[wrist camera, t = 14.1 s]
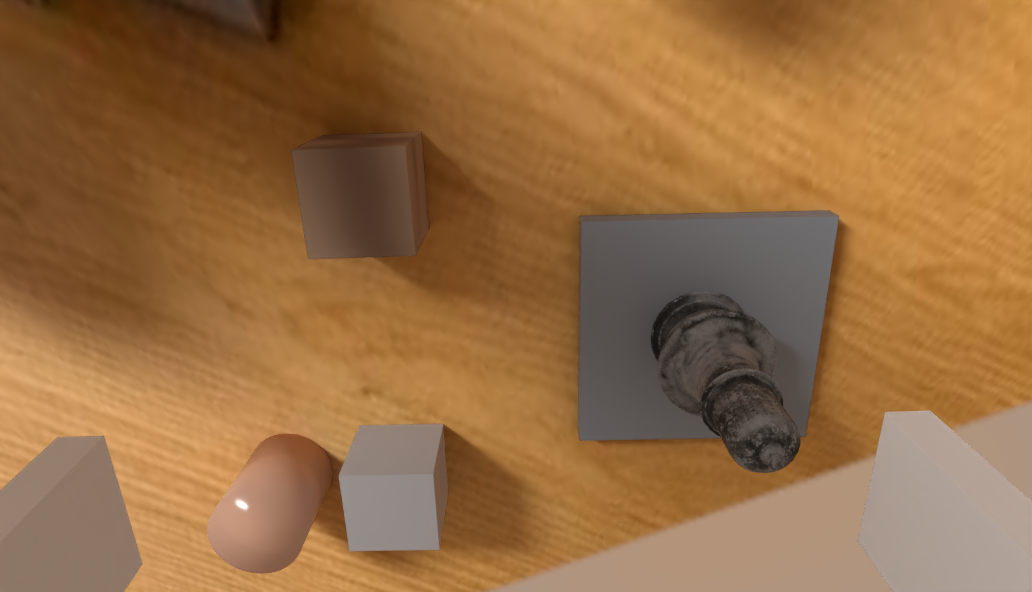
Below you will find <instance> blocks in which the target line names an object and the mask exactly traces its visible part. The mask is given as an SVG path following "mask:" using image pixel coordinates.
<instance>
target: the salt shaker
mask: <svg viewBox="0 0 1032 592" xmlns="http://www.w3.org/2000/svg"><path fill="white" fill-rule="evenodd" d="M651 348H652V351H653V353H654V356H655V358H656V360H657V361H658V364H657V368H658V379H659V382H660V384H661V387H662V390H663V392H664V393H665V395H666V396H667V397H668V399H669V400H670V401H671V402H672V403H673V404H674V405H676V406H677V407H678V408H680V409H681V410H683V411H685V412H688V413H690V414H693V415H696V416H701V417H702V419H703V422H704V423H705V425H706V426H707V427H708V429H709V430H710V431H712V432H713V433H715V434H716V435H717V436H720V437H721V438H722V440H723V442H724V444H725V446H726V448H727V450H728V452H729V454H730V455H731V457H732V458H733V459H734V460H735V461H736V462H737V463H738V464H739V465H740V466H742V467H743V468H744V469H747V470H749V471H752V472H759V473H768V472H774V471H777V470H780V469H782V468H784V467H786V466H787V465H788V464H789V463H790V462H791V461H792V460H793V459H794V457H795V456H796V454H797V453H798V450H799V447H800V434H799V431H798V428H797V425H796V424H795V422H794V421H793V420H792V418H791V417H790V416H789V414H788V413H787V411H786V410H785V409H784V407H783V394H782V391H781V388H780V386H779V385H778V384H777V382H776V381H775V380H774V375H775V372H776V369H777V349H776V345H775V342H774V339H773V337H772V336H771V334H770V333H769V331H768V330H767V329H766V327H765V326H764V325H763V324H761V323H760V322H759V321H758V320H756V319H755V318H754V317H752V316H749V315H747V314H745V313H744V312H743V310H742V309H741V307H740V306H739V305H738V304H737V303H736V302H735V301H734V300H732V299H731V298H730V297H728V296H726V295H723V294H721V293H718V292H714V291H706V290H703V291H694V292H689V293H687V294H684V295H681V296H679V297H677V298H676V299H674V300H673V301H671V302H670V303H668V304H667V305H666V306H665V307H664V308H663V310H662V311H661V312H660V313H659V314H658V316H657V318H656V320H655V322H654V324H653V327H652V332H651Z"/></svg>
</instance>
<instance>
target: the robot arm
mask: <svg viewBox="0 0 1032 592" xmlns="http://www.w3.org/2000/svg"><path fill="white" fill-rule="evenodd" d="M858 542H859V543H860V545H861V546H862V548H863V549H864V551H865V552H866V553H867V555H868V556H869V558H870V559H871V561H872V562H873V564H874V565H875V567H876V568H877V569H878V571H879V572H880V574H881V575H882V577H883V578H884V580H885V581H886V582H887V584H888V585H889V587H890V588H891V590H892V591H893V592H1032V501H1031V500H1030V499H1029V498H1028V497H1027V496H1025V495H1024V494H1023V493H1022V492H1021V491H1020V490H1019V489H1018V488H1017V487H1015V486H1014V485H1013V484H1012V483H1011V482H1010V481H1009V480H1008V479H1006V478H1005V477H1004V476H1003V475H1002V474H1001V473H1000V472H999V471H997V470H996V469H995V468H994V467H993V466H992V465H991V464H990V463H989V462H987V461H986V460H985V459H984V458H983V457H982V456H981V455H980V454H978V453H977V452H976V451H975V450H974V449H973V448H972V447H970V446H969V445H968V444H967V443H966V442H965V441H964V440H962V438H960V437H959V436H958V435H957V434H956V433H955V432H954V431H953V430H952V429H950V428H949V427H948V426H947V425H946V424H945V423H944V422H943V421H941V420H940V419H939V418H938V417H937V416H936V415H935V414H934V413H932V412H931V411H899V412H885V415H884V420H883V425H882V429H881V434H880V439H879V443H878V448H877V453H876V457H875V462H874V467H873V472H872V476H871V480H870V485H869V490H868V494H867V499H866V504H865V508H864V513H863V518H862V522H861V527H860V532H859V536H858ZM141 565H142V560H141V557H140V554H139V550H138V547H137V544H136V540H135V537H134V534H133V530H132V527H131V524H130V520H129V517H128V514H127V510H126V507H125V504H124V501H123V497H122V494H121V491H120V487H119V484H118V481H117V477H116V474H115V471H114V467H113V464H112V461H111V457H110V454H109V451H108V447H107V444H106V441H105V438H104V436H81V437H58V438H56V439H55V440H54V441H53V442H52V443H51V444H50V445H49V446H48V447H47V448H46V449H44V450H43V451H42V452H41V453H40V454H39V455H38V456H37V457H36V458H35V459H34V460H33V461H31V462H30V463H29V464H28V465H27V466H26V467H25V468H24V469H23V470H22V471H21V472H20V473H18V474H17V475H16V476H15V477H14V478H13V479H12V480H11V481H10V482H9V483H8V484H6V485H5V486H4V487H3V488H2V489H1V490H0V592H124V591H125V589H126V588H127V586H128V585H129V583H130V582H131V580H132V579H133V577H134V576H135V574H136V573H137V571H138V570H139V568H140V567H141Z"/></svg>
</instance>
